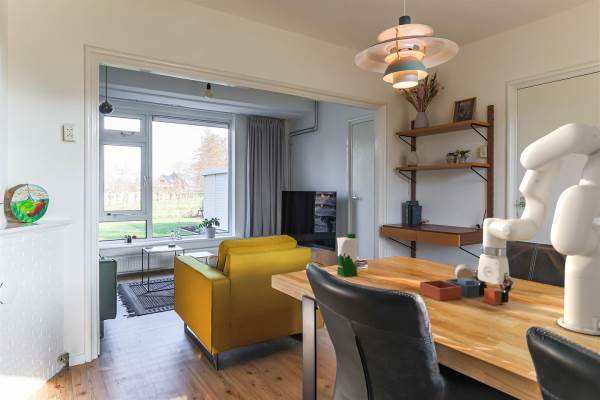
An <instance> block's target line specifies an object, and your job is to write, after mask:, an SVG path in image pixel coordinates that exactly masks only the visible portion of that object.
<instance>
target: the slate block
mask: <svg viewBox="0 0 600 400" xmlns="http://www.w3.org/2000/svg"><path fill="white" fill-rule="evenodd" d="M456 279H457V278H456ZM457 283H460V284H463V285H466V286H469V285H474V280H472V279H468V278H459V279H457Z"/></svg>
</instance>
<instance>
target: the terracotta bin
mask: <svg viewBox="0 0 600 400" xmlns="http://www.w3.org/2000/svg"><path fill="white" fill-rule="evenodd" d="M419 294H421V295H424V296H425V297H426V296H427V297H429V298H430V299H431V298H432V299H434V300H436V301H439V302H441V301H450V300H451V301H452V300H460V299H462V296H461V286H457V285H454V284H451V283H448V282H446V280H445V281H444V280H441V279H439V280H427V281H420V282H419Z"/></svg>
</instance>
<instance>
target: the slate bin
mask: <svg viewBox="0 0 600 400" xmlns="http://www.w3.org/2000/svg"><path fill="white" fill-rule="evenodd" d="M445 282H448V283H451V284H454V285H457V286H461V297H463V298H466V299H468V298H478V297H480V296H479V285H478V283H477V281H474V285H469V286H466V285H463V284H460V283H457V278H451V279H446V280H445ZM485 285H486V286H487V287H488V283H485Z"/></svg>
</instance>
